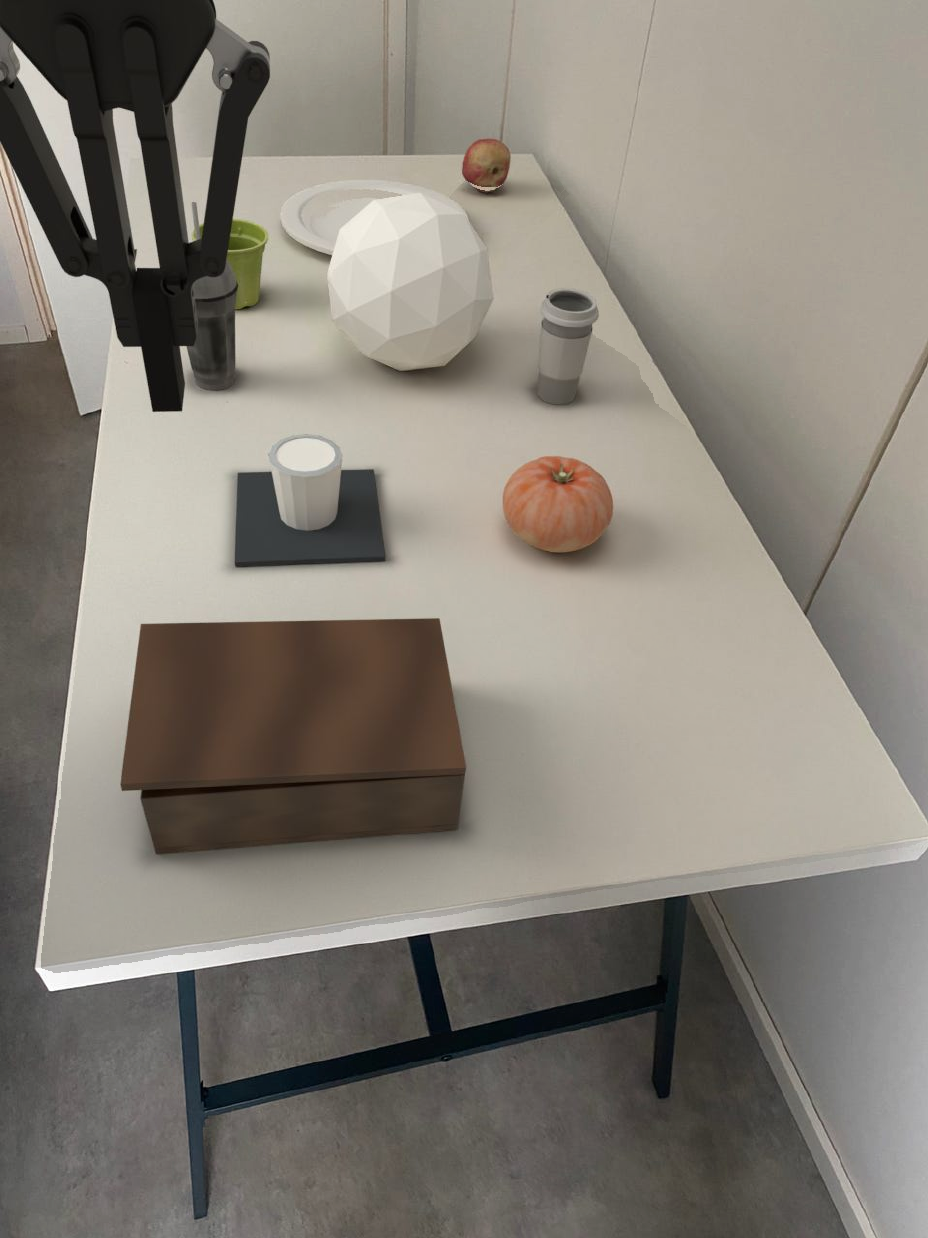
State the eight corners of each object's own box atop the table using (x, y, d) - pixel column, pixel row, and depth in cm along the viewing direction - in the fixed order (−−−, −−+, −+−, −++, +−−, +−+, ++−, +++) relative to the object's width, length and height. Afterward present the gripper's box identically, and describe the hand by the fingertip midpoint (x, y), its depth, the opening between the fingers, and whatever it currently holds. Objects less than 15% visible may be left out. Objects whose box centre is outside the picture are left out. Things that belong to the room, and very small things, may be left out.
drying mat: (235, 566, 90) (234, 562, 89) (238, 476, 100) (237, 472, 99) (385, 561, 92) (385, 556, 92) (373, 473, 102) (373, 468, 101)
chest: (155, 855, 68) (140, 799, 63) (170, 697, 78) (157, 639, 73) (458, 830, 71) (465, 775, 67) (434, 682, 81) (438, 625, 77)
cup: (532, 374, 119) (545, 281, 110) (585, 383, 118) (603, 290, 110) (524, 405, 113) (537, 310, 105) (580, 414, 113) (598, 319, 105)
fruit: (462, 198, 156) (465, 146, 151) (458, 180, 162) (462, 129, 156) (509, 200, 157) (515, 149, 152) (504, 182, 163) (509, 132, 157)
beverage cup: (184, 398, 109) (158, 222, 95) (181, 365, 114) (156, 193, 100) (249, 394, 111) (233, 220, 97) (244, 361, 116) (227, 191, 102)
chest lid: (121, 791, 62) (120, 784, 62) (142, 631, 73) (140, 623, 72) (465, 774, 66) (466, 767, 66) (438, 625, 77) (439, 617, 76)
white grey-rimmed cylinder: (261, 524, 94) (255, 465, 89) (290, 485, 98) (287, 426, 93) (327, 541, 92) (325, 482, 88) (353, 500, 97) (353, 442, 92)
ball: (434, 390, 127) (534, 267, 120) (402, 419, 109) (518, 276, 101) (321, 291, 125) (416, 159, 117) (270, 304, 106) (378, 148, 99)
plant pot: (280, 287, 130) (276, 223, 124) (262, 320, 123) (257, 253, 117) (211, 279, 130) (204, 214, 124) (190, 311, 123) (181, 245, 117)
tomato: (477, 520, 97) (484, 455, 92) (561, 490, 102) (573, 426, 97) (541, 584, 91) (552, 518, 86) (627, 548, 96) (644, 483, 90)
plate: (244, 242, 139) (243, 226, 137) (336, 180, 158) (336, 166, 156) (421, 289, 132) (422, 273, 131) (495, 219, 151) (496, 204, 150)
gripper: (-152, -177, 31) (27, 440, 48) (261, -147, 33) (295, 435, 50) (-91, -202, 36) (50, 361, 53) (262, -175, 38) (292, 360, 55)
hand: (169, 397), depth 51 cm, fingers closed
